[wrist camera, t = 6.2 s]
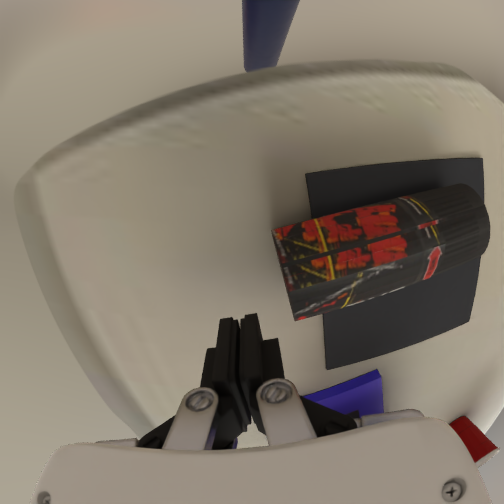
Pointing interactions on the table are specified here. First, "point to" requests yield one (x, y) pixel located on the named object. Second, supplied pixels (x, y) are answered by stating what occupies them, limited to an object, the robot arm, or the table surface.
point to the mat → (410, 297)
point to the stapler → (353, 396)
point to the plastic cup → (474, 441)
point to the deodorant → (379, 247)
